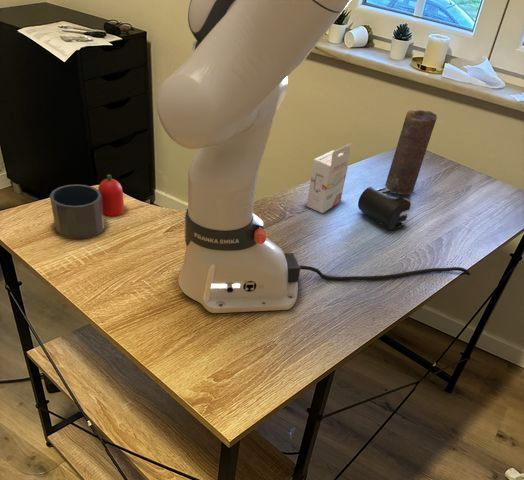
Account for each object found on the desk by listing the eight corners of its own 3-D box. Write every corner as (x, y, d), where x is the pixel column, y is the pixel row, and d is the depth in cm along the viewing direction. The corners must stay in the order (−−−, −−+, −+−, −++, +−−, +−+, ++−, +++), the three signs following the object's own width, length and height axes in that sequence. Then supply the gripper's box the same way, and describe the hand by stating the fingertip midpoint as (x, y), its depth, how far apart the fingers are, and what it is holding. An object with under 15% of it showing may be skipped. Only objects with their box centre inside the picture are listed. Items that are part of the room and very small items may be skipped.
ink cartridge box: (323, 195, 132) (335, 136, 122) (340, 202, 130) (353, 143, 120) (304, 206, 127) (315, 145, 117) (322, 214, 125) (334, 152, 115)
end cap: (354, 215, 126) (360, 188, 122) (374, 209, 130) (381, 182, 125) (384, 234, 121) (392, 207, 116) (405, 227, 124) (413, 201, 120)
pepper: (126, 206, 118) (123, 171, 112) (121, 217, 114) (119, 181, 109) (103, 204, 117) (99, 169, 112) (98, 215, 114) (94, 179, 108)
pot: (108, 217, 113) (105, 186, 109) (98, 240, 106) (95, 209, 102) (62, 213, 113) (57, 182, 108) (49, 236, 106) (43, 204, 101)
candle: (414, 200, 136) (440, 120, 122) (386, 197, 135) (409, 116, 122) (409, 187, 141) (433, 109, 128) (382, 184, 141) (403, 105, 127)
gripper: (275, 76, 104) (258, 145, 113) (211, 39, 113) (200, 106, 122) (252, 76, 100) (236, 147, 109) (188, 38, 109) (178, 106, 118)
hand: (217, 125), depth 115 cm, fingers open, 8 cm apart
